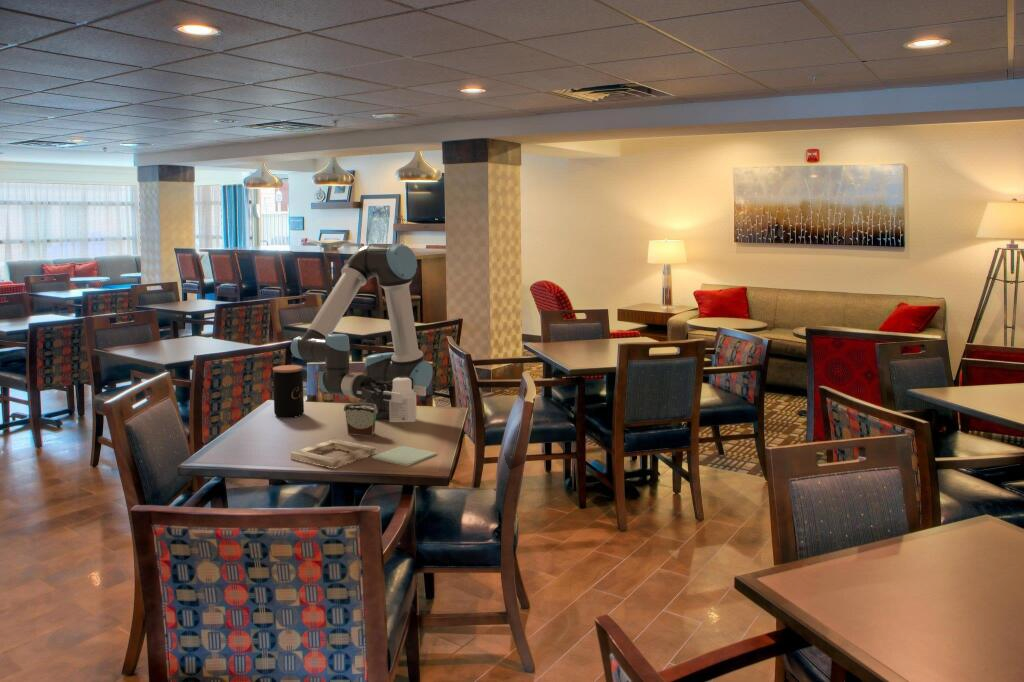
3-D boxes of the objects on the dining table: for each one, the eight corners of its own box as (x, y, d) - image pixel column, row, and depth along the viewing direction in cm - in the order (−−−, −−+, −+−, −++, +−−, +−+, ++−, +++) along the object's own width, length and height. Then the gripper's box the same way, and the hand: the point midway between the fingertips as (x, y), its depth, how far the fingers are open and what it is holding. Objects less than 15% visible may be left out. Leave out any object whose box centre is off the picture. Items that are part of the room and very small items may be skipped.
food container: (385, 432, 261) (384, 404, 260) (376, 437, 255) (375, 408, 254) (353, 429, 265) (352, 401, 264) (344, 433, 259) (343, 405, 258)
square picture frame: (334, 444, 246) (334, 438, 246) (375, 454, 236) (375, 447, 236) (290, 458, 231) (290, 452, 231) (333, 469, 221) (333, 462, 221)
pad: (402, 447, 243) (402, 445, 243) (436, 454, 236) (436, 452, 236) (371, 458, 232) (371, 456, 232) (407, 466, 224) (407, 464, 224)
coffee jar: (295, 419, 278) (294, 370, 276) (269, 417, 281) (266, 369, 278) (309, 412, 289) (307, 365, 286) (283, 410, 291) (281, 364, 288)
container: (391, 416, 236) (390, 374, 234) (416, 415, 236) (416, 374, 234) (389, 422, 228) (388, 379, 226) (415, 421, 229) (414, 379, 227)
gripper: (384, 391, 251) (437, 399, 239) (332, 404, 232) (387, 414, 220) (384, 369, 250) (437, 376, 238) (332, 380, 230) (386, 389, 219)
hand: (413, 394), depth 229 cm, fingers closed on container, 10 cm apart
